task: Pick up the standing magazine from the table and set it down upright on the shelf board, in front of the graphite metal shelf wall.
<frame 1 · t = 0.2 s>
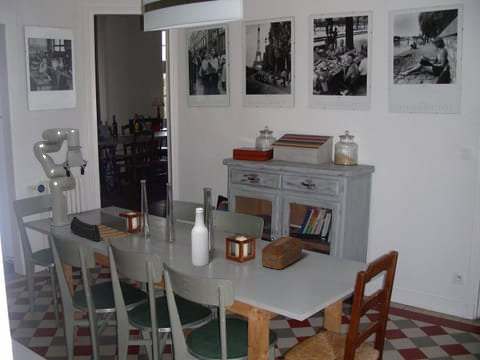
hand: (75, 175, 344), 36 cm above the table, tool pointing down, fingers open, 9 cm apart
magazine: (85, 237, 337), on the table
shelf board: (103, 232, 346), on the table
alcohol: (200, 264, 289), on the table
bread: (282, 262, 291), on the table
shelf wall: (113, 230, 352), resting on shelf board
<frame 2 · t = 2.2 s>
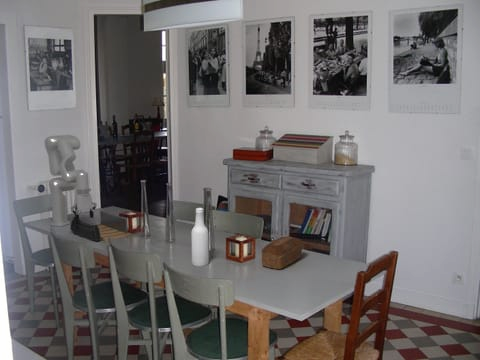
hand: (84, 219, 335), 12 cm above the table, tool pointing down, fingers open, 9 cm apart
nothing on the table moved.
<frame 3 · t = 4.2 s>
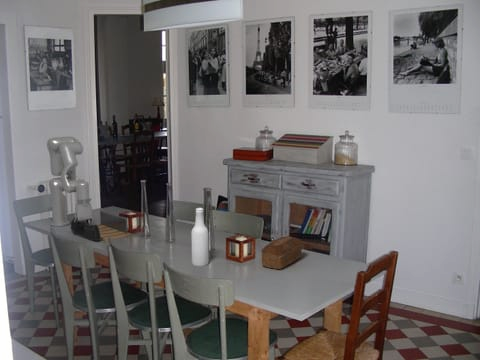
hand: (84, 230, 336), 4 cm above the table, tool pointing down, fingers closed on magazine, 3 cm apart
magazine: (85, 237, 337), on the table, touching gripper
everything else where it was.
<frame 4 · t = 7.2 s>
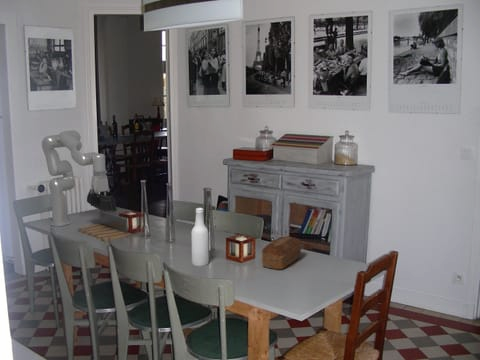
hand: (100, 202, 342), 20 cm above the table, tool pointing down, fingers closed on magazine, 3 cm apart
magazine: (101, 209, 342), point 16 cm above the table, touching gripper
everything else where it was.
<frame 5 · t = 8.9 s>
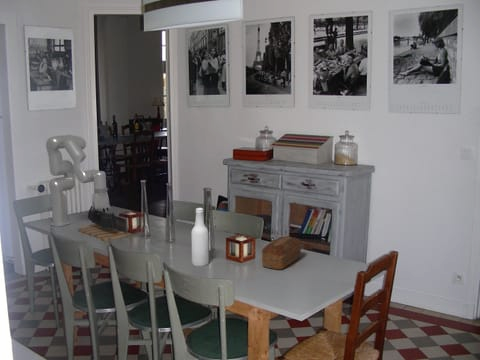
hand: (101, 219, 344), 9 cm above the table, tool pointing down, fingers closed on magazine, 3 cm apart
magazine: (102, 226, 344), point 5 cm above the table, touching gripper
everything else where it was.
when the fingers open (7 cm above the table, at t = 10.2 s): magazine stays where it is, resting on shelf board.
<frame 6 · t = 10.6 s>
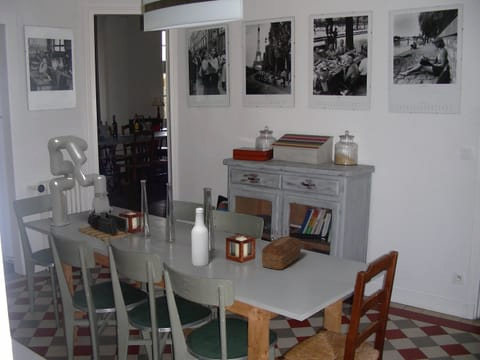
hand: (101, 222, 344), 7 cm above the table, tool pointing down, fingers open, 7 cm apart
magazine: (102, 231, 345), point 1 cm above the table, touching shelf board
everything else where it was.
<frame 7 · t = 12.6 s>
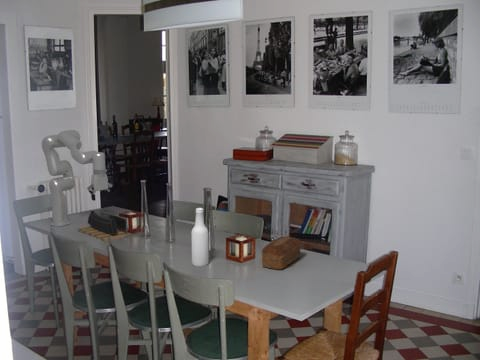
hand: (100, 199, 342), 22 cm above the table, tool pointing down, fingers open, 9 cm apart
nothing on the table moved.
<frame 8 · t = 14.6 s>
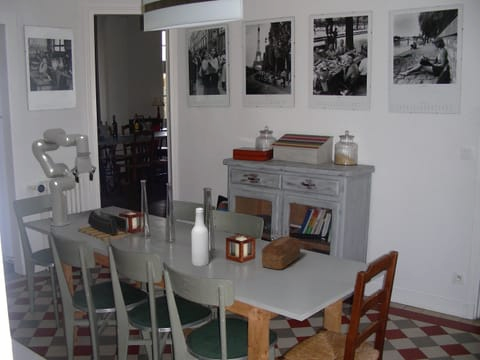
hand: (84, 181, 345), 32 cm above the table, tool pointing down, fingers open, 9 cm apart
nothing on the table moved.
at the end: magazine inside the target area on the shelf board (0.6 cm from its centre), point 1.3 cm above the shelf board's base; the gripper is holding nothing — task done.
